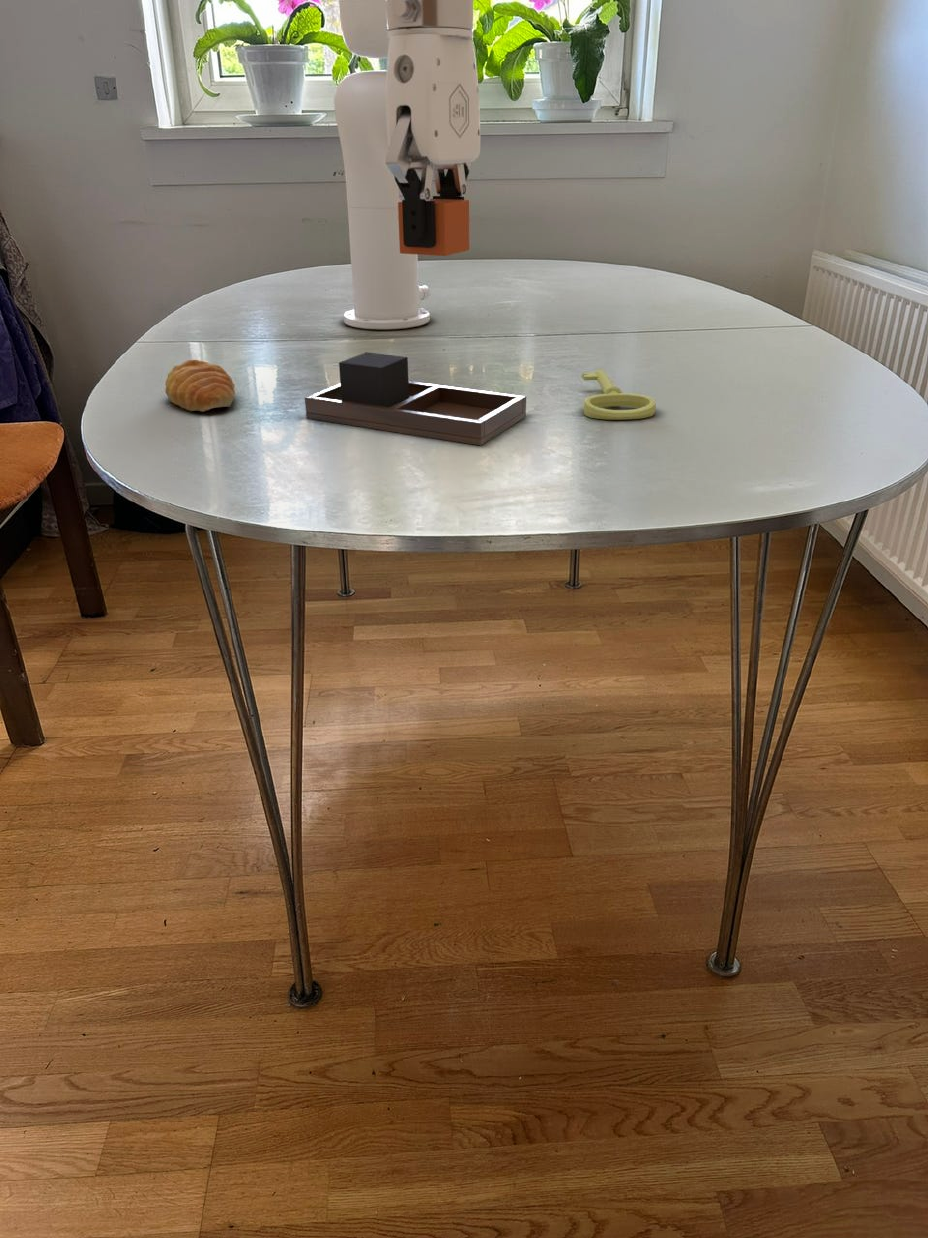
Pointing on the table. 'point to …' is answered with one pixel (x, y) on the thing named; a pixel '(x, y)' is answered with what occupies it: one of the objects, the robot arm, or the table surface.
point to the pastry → (199, 386)
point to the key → (615, 401)
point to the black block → (374, 379)
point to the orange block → (443, 229)
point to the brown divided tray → (426, 412)
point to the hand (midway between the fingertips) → (434, 241)
